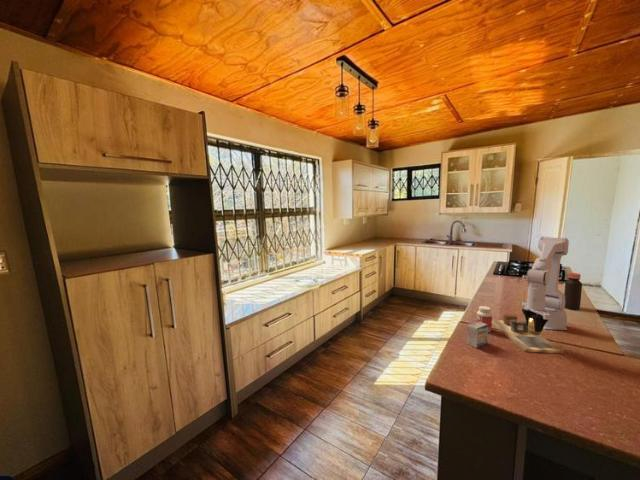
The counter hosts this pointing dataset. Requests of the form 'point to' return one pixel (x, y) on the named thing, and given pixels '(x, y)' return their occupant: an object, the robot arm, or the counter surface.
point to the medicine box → (477, 334)
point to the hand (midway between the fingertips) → (534, 328)
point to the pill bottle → (485, 316)
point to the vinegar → (573, 292)
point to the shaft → (512, 318)
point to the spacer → (532, 327)
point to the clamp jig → (526, 338)
